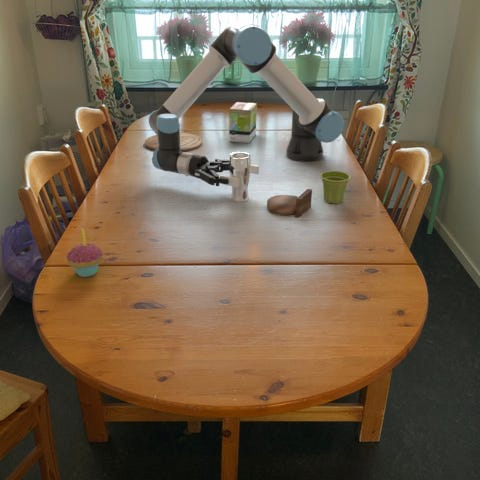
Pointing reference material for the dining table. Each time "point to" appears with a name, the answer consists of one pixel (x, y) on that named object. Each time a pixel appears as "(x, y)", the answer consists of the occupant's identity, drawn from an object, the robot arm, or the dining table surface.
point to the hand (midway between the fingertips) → (248, 176)
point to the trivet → (186, 142)
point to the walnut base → (290, 204)
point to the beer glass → (240, 175)
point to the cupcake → (85, 258)
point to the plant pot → (334, 186)
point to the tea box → (242, 122)
